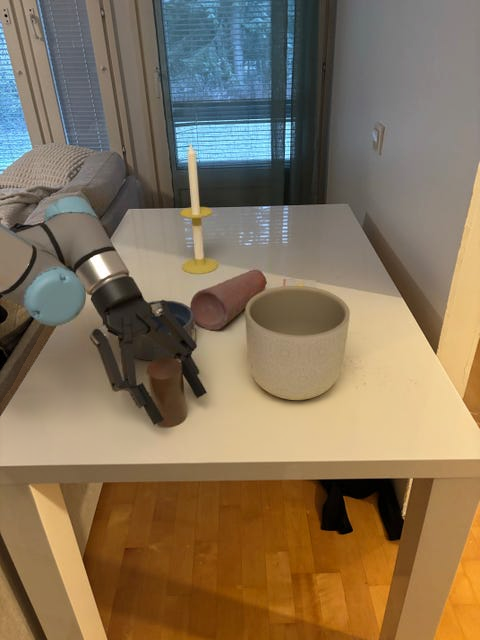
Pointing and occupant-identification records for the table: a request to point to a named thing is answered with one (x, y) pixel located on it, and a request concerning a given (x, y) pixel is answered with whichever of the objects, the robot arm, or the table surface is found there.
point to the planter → (296, 340)
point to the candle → (196, 222)
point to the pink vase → (226, 299)
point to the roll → (167, 390)
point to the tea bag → (299, 282)
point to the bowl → (152, 349)
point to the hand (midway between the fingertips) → (181, 408)
